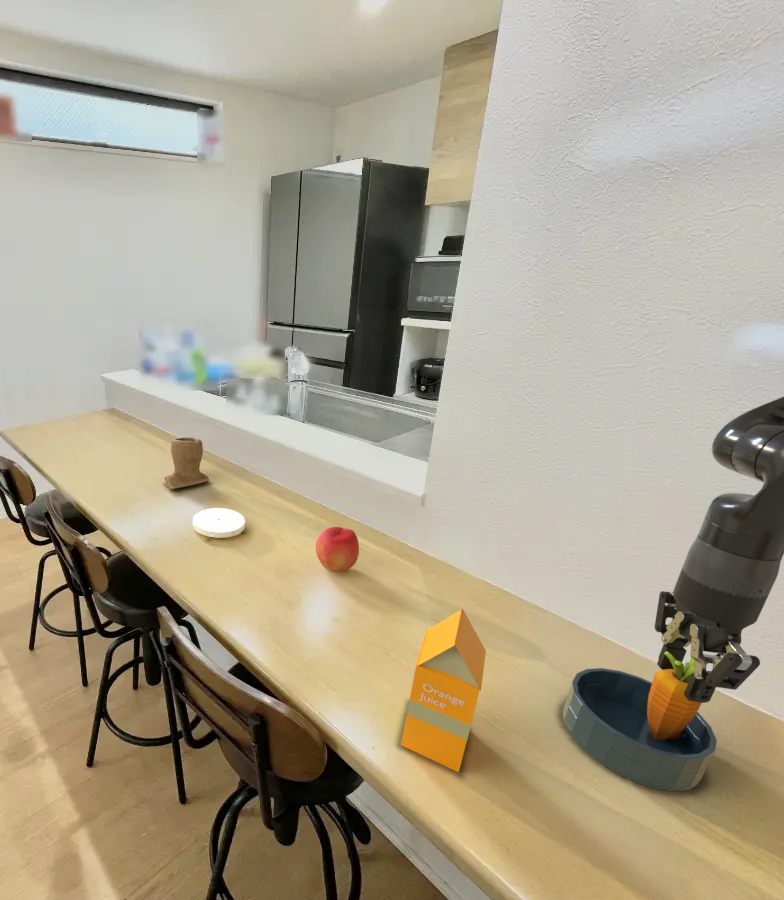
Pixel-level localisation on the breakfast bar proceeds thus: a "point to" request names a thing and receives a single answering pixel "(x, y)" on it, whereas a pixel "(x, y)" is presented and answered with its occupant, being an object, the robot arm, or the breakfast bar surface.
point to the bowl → (634, 732)
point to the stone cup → (186, 463)
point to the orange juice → (445, 691)
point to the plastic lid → (218, 522)
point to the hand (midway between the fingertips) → (680, 683)
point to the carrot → (670, 700)
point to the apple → (337, 548)
